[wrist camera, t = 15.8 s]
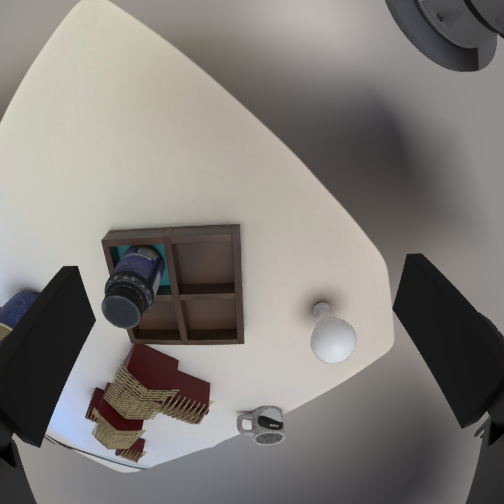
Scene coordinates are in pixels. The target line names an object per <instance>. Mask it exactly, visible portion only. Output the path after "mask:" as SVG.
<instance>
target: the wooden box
mask: <svg viewBox="0 0 504 504" xmlns="http://www.w3.org/2000/svg"><path fill="white" fill-rule="evenodd" d="M101 241H102V246H103V250H104V254H105V258H106V262H107V266H108V270H109V274H110V276H111V274H112V273H113V271H114V269H115V268H116V266H117V264H118V263H119V261H120V260H121V258H122V257H123V255H124V253H125V252H126V251H127V250H128V249H129V248H130V247H132V246H136V245H146V246H150V247H152V248H153V249H155V250H156V251H157V252H158V253H159V254H160V255H161V257H162V259H163V261H164V266H165V269H164V273H163V276H162V279H161V281H160V284H159V287H158V290H157V293H156V296H155V299H154V302H153V304H152V307H151V308H150V310H149V311H148V312H147V313H146V314H144V315H143V316H142V317H141V320H140V322H139V324H138V325H137V326H135V327H133V328H129V329H127V332H128V335H129V338H130V341H131V343H132V344H160V345H226V344H244V323H243V298H242V271H241V243H240V225H212V226H189V227H169V228H150V229H133V230H117V231H109V232H108V233H107V234H106V236H105V237H104V238H103V239H102V240H101Z"/></svg>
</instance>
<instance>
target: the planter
mask: <svg viewBox="0 0 504 504" xmlns="http://www.w3.org/2000/svg"><path fill="white" fill-rule="evenodd" d="M37 297H38V295H36V294H34V293H30V292H21V293H18V294H17V295H15V296H14V297H12V298H11V299H10V300H9V301H8V302H7V303H6V304H5V305H4V306H3V307H2V308H1V309H0V341H1V340H2V339H3V338H4V337H5V336H7V335H8V334H9V333H10V332H11V331H12V330H13V329H14V327H15V326H16V324H17V323H18V322H19V320H20V319H21V318H22V316H23V315H24V314H25V312H26V311H27V310H28V308H29V307H30V306H31V304H32V303H33V302H34V301H35V299H36V298H37Z"/></svg>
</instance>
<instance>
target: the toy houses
mask: <svg viewBox="0 0 504 504" xmlns="http://www.w3.org/2000/svg"><path fill="white" fill-rule="evenodd" d="M121 366H122V367H121V368H120V367H119V368H120V370H117V371H118V373H116V374H117V376H116V375H115V377H114V378H115V380H114V379H113V381H114V383H113V382H112V383H113V384H111V383H109V382H108V384H107V386H106V388H105V390H104V391H103V390H101V389H99V388H97V387H96V389H95V391H94V393H93V396H92V398H91V401H90V404H89V407H88V410H87V413H86V416H85V417H86V419H88V420H90V421H91V420H93V421H92V422H94V421H95V423H97V424H98V423H99V424H98V425H97V424H96V425H97V426H98V427H97V426H96V425H95V426H96V427H97V428H96V427H95V428H96V429H97V430H96V429H95V428H94V429H95V430H96V431H95V430H94V429H93V430H94V431H95V432H96V433H95V432H94V431H93V432H94V433H95V434H94V433H93V432H92V434H93V435H94V436H95V438H96V439H97V440H98V441H99V442H100V443H102V444H103V445H104V446H105V447H106V448H107V449H116V451H115V455H116V456H118V455H119V456H120V457H122V458H124V459H125V458H126V459H129V460H130V461H131V460H132V461H133V462H134V461H135V462H136V463H137V462H138V460H139V458H140V457H142V456H143V455H145V454H146V453H147V452H145V451H143V448H144V442H145V440H144V439H142V438H140V437H136V435H140V436H141V435H142V434H144V432H145V431H146V430H142V426H143V421H144V420H147V419H154V418H149V417H155V416H150V415H157V413H153V412H158V413H163V414H168V415H167V416H173V417H172V418H176V419H181V421H187V422H186V423H189V424H199V423H200V422H201V420H202V419H203V417H204V415H205V414H206V415H207V414H208V412H209V407H210V405H209V404H212V403H209V402H214V401H210V400H209V395H210V383H207V382H205V381H202V380H200V379H197V378H195V377H192V376H190V375H187V374H185V373H183V372H180V371H178V370H177V367H178V360H176V359H174V358H172V357H169V356H167V355H165V354H163V353H161V352H159V351H156V350H154V349H152V348H150V347H148V346H146V345H144V344H134V345H133V347H132V349H131V351H130V352H129V354H128V356H127V358H126V359H125V361H124V363H123V365H121Z"/></svg>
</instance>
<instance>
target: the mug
mask: <svg viewBox="0 0 504 504" xmlns="http://www.w3.org/2000/svg"><path fill="white" fill-rule="evenodd" d="M243 419H246V420H251V421H252V430H245V429H243V428H242V420H243ZM237 428H238V431H239V433H242V434H245V435H248V436H253V441H254V442H255V443H256V444H259V445H273V444H277V443H280V442H282V441H283V440H284V439H285V433H284V425H283V418H282V411H281V410H280V409H279V408H277V407H274V406H263V407H259V408H257V409H255V410H254V411H253V412H252V414H245V415H239V416H238V418H237Z"/></svg>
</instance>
